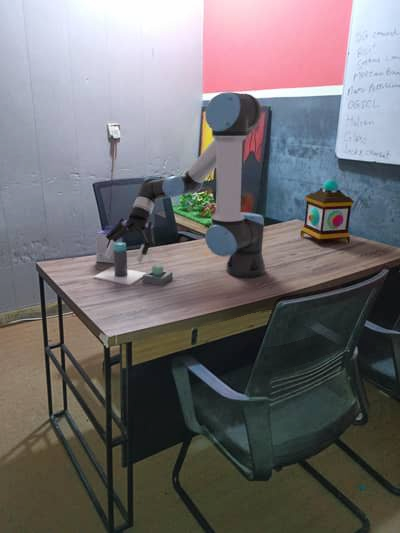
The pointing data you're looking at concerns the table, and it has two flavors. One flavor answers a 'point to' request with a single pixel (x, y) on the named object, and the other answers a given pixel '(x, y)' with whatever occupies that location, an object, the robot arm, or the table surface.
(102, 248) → the ink cartridge box
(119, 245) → the ball
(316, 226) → the decorative lantern
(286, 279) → the table surface
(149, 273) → the button housing
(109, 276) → the paper pad
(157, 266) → the button
